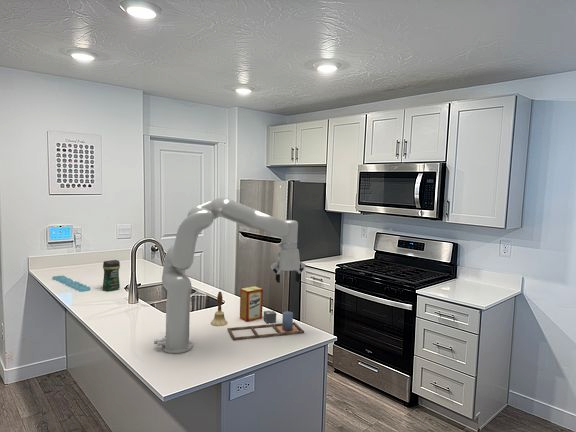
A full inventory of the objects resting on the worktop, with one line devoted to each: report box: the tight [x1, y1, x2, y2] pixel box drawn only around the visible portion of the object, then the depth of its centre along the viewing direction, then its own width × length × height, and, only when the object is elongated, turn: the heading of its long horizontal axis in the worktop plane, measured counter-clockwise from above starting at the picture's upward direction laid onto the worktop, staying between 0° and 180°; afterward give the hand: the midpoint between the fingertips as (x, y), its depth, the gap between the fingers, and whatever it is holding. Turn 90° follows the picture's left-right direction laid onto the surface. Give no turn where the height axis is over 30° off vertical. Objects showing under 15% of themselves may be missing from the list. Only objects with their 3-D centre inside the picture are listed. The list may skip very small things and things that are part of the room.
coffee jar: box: [102, 259, 121, 292], centre depth 252 cm, size 10×8×19 cm
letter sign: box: [52, 275, 91, 293], centre depth 262 cm, size 45×6×2 cm, turn 50°
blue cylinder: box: [281, 311, 294, 331], centre depth 193 cm, size 5×5×8 cm
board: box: [227, 321, 305, 341], centre depth 190 cm, size 34×13×1 cm, turn 110°
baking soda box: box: [239, 285, 264, 323], centre depth 208 cm, size 10×6×16 cm
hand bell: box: [210, 291, 228, 327], centre depth 199 cm, size 8×8×16 cm
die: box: [263, 309, 277, 325], centre depth 204 cm, size 5×5×5 cm
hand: (287, 281), depth 192 cm, fingers open, 9 cm apart
